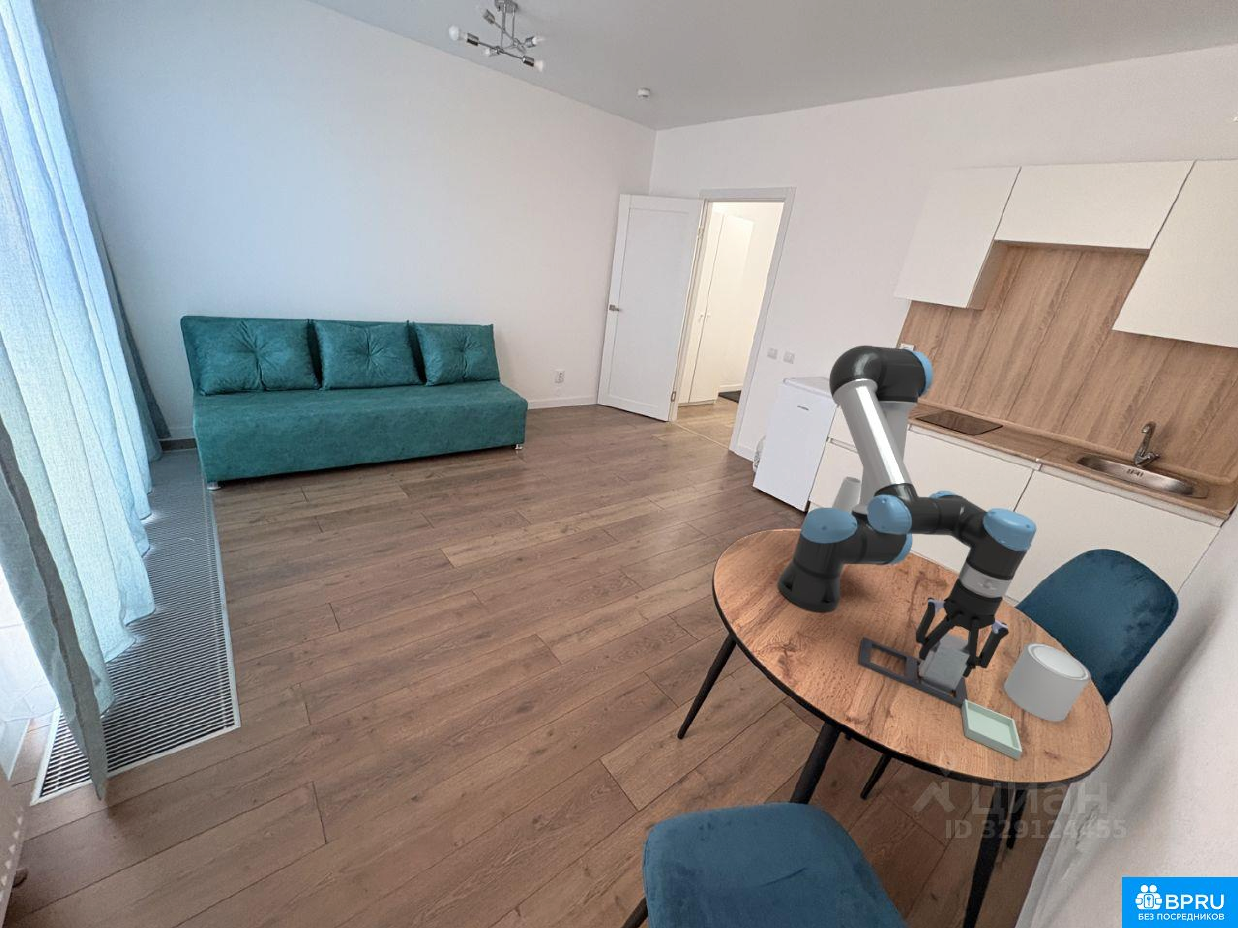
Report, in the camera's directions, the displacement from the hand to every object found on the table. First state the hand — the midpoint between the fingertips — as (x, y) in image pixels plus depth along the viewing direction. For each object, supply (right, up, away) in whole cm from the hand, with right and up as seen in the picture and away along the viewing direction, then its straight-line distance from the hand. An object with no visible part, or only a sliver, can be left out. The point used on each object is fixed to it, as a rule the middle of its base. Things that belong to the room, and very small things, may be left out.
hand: (936, 677), depth 99 cm
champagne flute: (-1, +18, +48) cm, 51 cm away
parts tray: (+3, -6, -10) cm, 12 cm away
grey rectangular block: (0, -1, 0) cm, 1 cm away
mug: (+20, -4, 0) cm, 21 cm away
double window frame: (-4, 0, +2) cm, 5 cm away
